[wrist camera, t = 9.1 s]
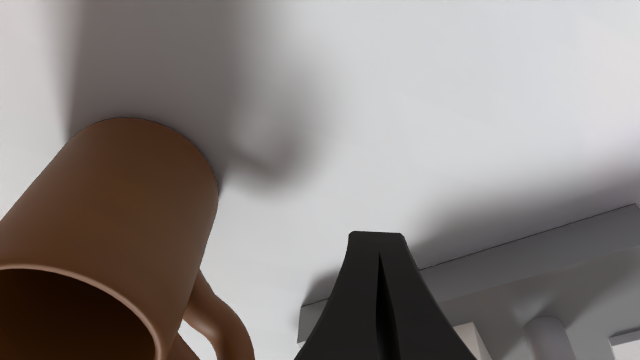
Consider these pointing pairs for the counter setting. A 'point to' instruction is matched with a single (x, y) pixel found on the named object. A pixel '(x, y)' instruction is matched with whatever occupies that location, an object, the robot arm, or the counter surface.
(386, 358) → the robot arm
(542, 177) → the counter surface
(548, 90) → the counter surface
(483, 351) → the plug
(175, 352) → the mug
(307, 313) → the grey piece
